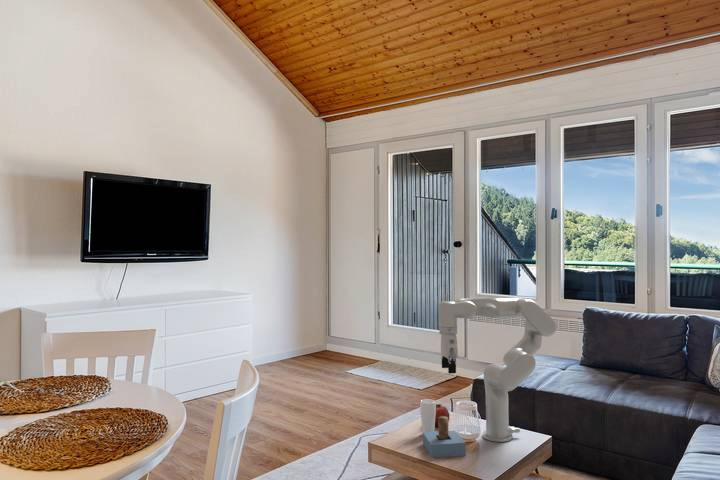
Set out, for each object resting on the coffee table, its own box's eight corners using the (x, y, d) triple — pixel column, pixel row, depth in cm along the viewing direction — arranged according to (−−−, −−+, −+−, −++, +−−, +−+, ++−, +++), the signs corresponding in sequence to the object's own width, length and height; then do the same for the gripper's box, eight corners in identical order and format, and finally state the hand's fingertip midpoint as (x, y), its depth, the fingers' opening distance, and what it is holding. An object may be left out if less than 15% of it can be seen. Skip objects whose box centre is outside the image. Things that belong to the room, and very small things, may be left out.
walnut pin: (446, 445, 217) (446, 416, 217) (449, 448, 213) (449, 419, 213) (437, 445, 217) (437, 416, 217) (440, 449, 213) (439, 419, 213)
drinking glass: (432, 431, 236) (431, 398, 236) (438, 436, 229) (438, 402, 229) (418, 433, 234) (417, 399, 234) (424, 438, 227) (424, 404, 227)
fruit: (439, 431, 236) (439, 409, 236) (423, 425, 244) (423, 404, 244) (455, 426, 243) (454, 404, 243) (438, 420, 251) (438, 399, 251)
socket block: (455, 442, 223) (454, 430, 223) (465, 455, 209) (465, 442, 209) (422, 444, 221) (422, 432, 221) (431, 457, 207) (431, 444, 207)
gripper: (463, 333, 216) (463, 375, 216) (450, 327, 233) (451, 365, 233) (445, 333, 215) (446, 375, 215) (434, 327, 232) (434, 366, 232)
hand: (448, 370), depth 224 cm, fingers open, 9 cm apart
